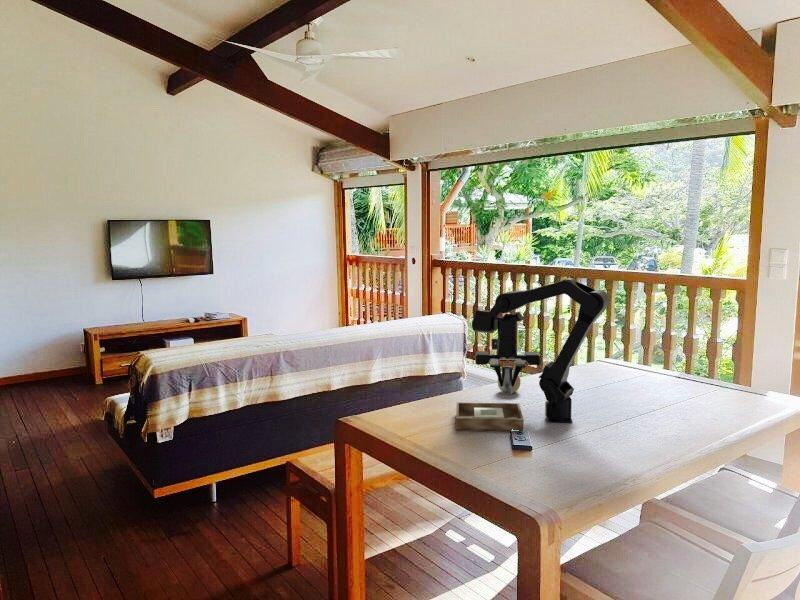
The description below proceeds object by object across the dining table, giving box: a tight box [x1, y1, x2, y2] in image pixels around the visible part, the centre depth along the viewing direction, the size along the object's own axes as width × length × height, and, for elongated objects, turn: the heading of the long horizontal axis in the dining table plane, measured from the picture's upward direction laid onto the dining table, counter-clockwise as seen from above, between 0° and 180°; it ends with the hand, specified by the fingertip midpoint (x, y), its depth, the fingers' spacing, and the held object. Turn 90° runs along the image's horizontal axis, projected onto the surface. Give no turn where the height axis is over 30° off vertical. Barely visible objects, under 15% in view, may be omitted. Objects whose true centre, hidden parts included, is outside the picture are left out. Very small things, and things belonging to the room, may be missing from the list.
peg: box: [501, 365, 513, 395], centre depth 177 cm, size 3×3×8 cm
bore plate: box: [474, 408, 504, 418], centre depth 167 cm, size 8×8×2 cm
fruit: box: [497, 371, 521, 394], centre depth 196 cm, size 8×7×8 cm
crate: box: [455, 401, 525, 433], centre depth 167 cm, size 18×14×4 cm
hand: (506, 386), depth 177 cm, fingers closed on peg, 3 cm apart
